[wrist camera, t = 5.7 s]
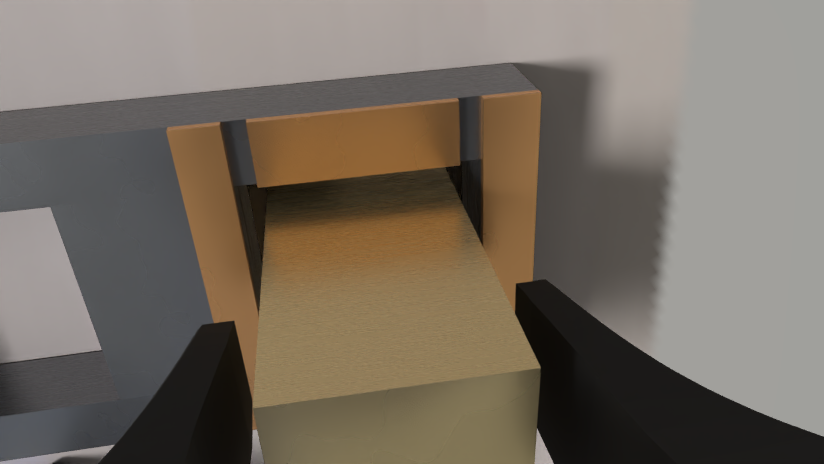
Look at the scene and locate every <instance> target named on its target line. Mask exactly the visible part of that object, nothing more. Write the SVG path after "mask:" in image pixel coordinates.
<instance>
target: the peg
mask: <svg viewBox="0 0 824 464" xmlns="http://www.w3.org/2000/svg"><path fill="white" fill-rule="evenodd" d="M540 374H541V367H540V365H539V363H538V361H537V359H536V356H535V354H534V352H533V350H532V348H531V346H530V344H529V342H528V340H527V338H526V336H525V334H524V331H523V329H522V327H521V325H520V323H519V321H518V319H517V317H516V315H515V313H514V311H513V309H512V306H511V304H510V302H509V300H508V298H507V296H506V294H505V292H504V290H503V288H502V286H501V283H500V281H499V279H498V277H497V275H496V273H495V271H494V269H493V267H492V265H491V263H490V261H489V258H488V256H487V254H486V252H485V250H484V248H483V246H482V244H481V242H480V240H479V238H478V236H477V233H476V231H475V229H474V227H473V225H472V223H471V221H470V219H469V217H468V215H467V213H466V211H465V208H464V206H463V204H462V202H461V200H460V198H459V196H458V194H457V192H456V190H455V188H454V186H453V183H452V181H451V179H450V177H449V175H448V173H447V171H446V169H445V167H441V168H432V169H423V170H414V171H405V172H396V173H387V174H378V175H369V176H360V177H351V178H342V179H333V180H324V181H315V182H306V183H297V184H288V185H279V186H270V187H268V193H267V207H266V222H265V236H264V251H263V265H262V279H261V294H260V308H259V323H258V337H257V352H256V366H255V380H254V395H253V413H254V417H255V422H256V426H257V431H258V436H259V440H260V445H261V449H262V454H263V458H264V463H265V464H534V462H535V447H536V433H537V418H538V403H539V389H540Z"/></svg>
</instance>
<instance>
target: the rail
mask: <svg viewBox="0 0 824 464" xmlns="http://www.w3.org/2000/svg"><path fill="white" fill-rule="evenodd" d="M540 114H541V92H540V91H539V90H538V89H537V88H536V87H535V86H534V85H533V84H532V83H531V82H530V81H529V80H528V79H527V78H526V77H525V76H524V75H523V74H522V73H521V72H520V71H519V70H518V69H517V68H516V67H515V66H514V65H513V64H512V63H507V64H496V65H486V66H476V67H465V68H455V69H444V70H434V71H423V72H413V73H403V74H392V75H382V76H371V77H361V78H351V79H340V80H330V81H319V82H309V83H298V84H288V85H278V86H267V87H257V88H246V89H236V90H225V91H215V92H205V93H194V94H184V95H173V96H163V97H152V98H142V99H132V100H121V101H111V102H100V103H90V104H80V105H69V106H59V107H48V108H38V109H27V110H17V111H7V112H0V212H7V211H17V210H26V209H35V208H44V207H51V210H52V213H53V216H54V218H55V221H56V224H57V227H58V229H59V232H60V235H61V238H62V240H63V243H64V246H65V249H66V252H67V254H68V257H69V260H70V263H71V265H72V268H73V271H74V274H75V276H76V279H77V282H78V285H79V288H80V290H81V293H82V296H83V299H84V301H85V304H86V307H87V310H88V312H89V315H90V318H91V321H92V324H93V326H94V329H95V332H96V335H97V337H98V340H99V343H100V346H101V348H102V351H99V352H91V353H84V354H76V355H69V356H61V357H54V358H46V359H39V360H31V361H24V362H16V363H9V364H1V365H0V461H6V460H13V459H20V458H27V457H33V456H40V455H47V454H54V453H60V452H67V451H74V450H81V449H87V448H94V447H101V446H108V445H114V444H116V443H117V442H118V441H119V440H120V438H121V437H122V436H123V435H124V433H125V432H126V431H127V430H128V428H129V427H130V426H131V425H132V423H133V422H134V421H135V420H136V418H137V417H138V416H139V414H140V413H141V412H142V411H143V409H144V408H145V407H146V405H147V404H148V403H149V401H150V400H151V399H152V397H153V396H154V394H155V393H156V392H157V390H158V389H159V387H160V386H161V385H162V383H163V382H164V380H165V379H166V377H167V376H168V375H169V373H170V372H171V370H172V369H173V367H174V366H175V364H176V363H177V361H178V360H179V358H180V357H181V355H182V353H183V352H184V350H185V349H186V347H187V346H188V344H189V342H190V341H191V339H192V338H193V336H194V335H195V333H196V331H197V330H198V329H199V328H200V326H201V325H204V324H211V323H219V322H226V321H235V326H236V330H237V335H238V339H239V343H240V348H241V352H242V356H243V361H244V365H245V369H246V374H247V378H248V383H249V387H250V391H251V396H252V416H253V427H252V430H255V429H257V426H256V422H255V417H254V413H253V395H254V380H255V366H256V352H257V337H258V323H259V308H260V294H261V279H262V260H261V255H260V250H259V244H258V239H257V234H256V229H255V224H254V219H253V213H252V208H251V203H250V198H249V193H248V187H247V185H251V184H257V186H258V188H261V187H270V186H279V185H288V184H297V183H306V182H315V181H324V180H333V179H342V178H351V177H360V176H369V175H378V174H387V173H396V172H405V171H414V170H423V169H432V168H441V167H450V166H459V165H460V161H462V204H463V206H464V208H465V211H466V213H467V215H468V217H469V219H470V221H471V223H472V225H473V227H474V229H475V231H476V233H477V236H478V238H479V240H480V242H481V244H482V246H483V248H484V250H485V252H486V254H487V256H488V258H489V261H490V263H491V265H492V267H493V269H494V271H495V273H496V275H497V277H498V279H499V281H500V283H501V286H502V288H503V290H504V292H505V294H506V296H507V298H508V300H509V302H510V304H511V306H512V309H513V311H514V313H515V292H516V283H523V282H530V281H533V265H534V243H535V222H536V200H537V178H538V157H539V135H540Z"/></svg>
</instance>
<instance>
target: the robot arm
mask: <svg viewBox="0 0 824 464" xmlns="http://www.w3.org/2000/svg"><path fill="white" fill-rule="evenodd" d="M515 315H516V317H517V319H518V321H519V323H520V325H521V327H522V329H523V331H524V334H525V336H526V338H527V340H528V342H529V344H530V346H531V348H532V350H533V352H534V354H535V356H536V359H537V361H538V363H539V365H540V367H541V374H540V389H539V403H538V418H537V429H538V431H539V433H540V435H541V437H542V439H543V441H544V444H545V446H546V448H547V450H548V452H549V454H550V456H551V458H552V460H553V463H554V464H824V437H823V436H820V435H817V434H814V433H811V432H809V431H806V430H803V429H801V428H798V427H795V426H792V425H790V424H787V423H784V422H782V421H779V420H776V419H774V418H772V417H769V416H767V415H764V414H762V413H759V412H757V411H754V410H752V409H750V408H748V407H746V406H743V405H741V404H739V403H737V402H734V401H732V400H730V399H728V398H725V397H723V396H721V395H719V394H717V393H715V392H713V391H711V390H709V389H707V388H705V387H703V386H701V385H699V384H698V383H696V382H694V381H692V380H690V379H688V378H686V377H685V376H683V375H681V374H679V373H677V372H675V371H674V370H672V369H670V368H669V367H667V366H665V365H663V364H662V363H660V362H658V361H657V360H655V359H654V358H652V357H651V356H649V355H648V354H646V353H644V352H643V351H641V350H640V349H638V348H637V347H635V346H634V345H632V344H631V343H629V342H628V341H626V340H625V339H623V338H622V337H620V336H619V335H618V334H616V333H615V332H613V331H612V330H611V329H609V328H608V327H606V326H605V325H604V324H602V323H601V322H600V321H598V320H597V319H596V318H594V317H593V316H592V315H590V314H589V313H588V312H586V311H585V310H584V309H583V308H581V307H580V306H579V305H577V304H576V303H575V302H574V301H572V300H571V299H570V298H569V297H567V296H566V295H565V294H563V293H562V292H561V291H560V290H558V289H557V288H556V287H555V286H553V285H552V284H551V283H549V282H548V281H547V280H538V281H530V282H523V283H516V292H515ZM252 427H253V416H252V396H251V391H250V387H249V383H248V378H247V374H246V369H245V365H244V361H243V356H242V352H241V348H240V343H239V339H238V335H237V330H236V326H235V321H226V322H219V323H211V324H204V325H201V326H200V328H199V329H198V330H197V331H196V333H195V335H194V336H193V338H192V339H191V341H190V342H189V344H188V346H187V347H186V349H185V350H184V352H183V353H182V355H181V357H180V358H179V360H178V361H177V363H176V364H175V366H174V367H173V369H172V370H171V372H170V373H169V375H168V376H167V377H166V379H165V380H164V382H163V383H162V385H161V386H160V387H159V389H158V390H157V392H156V393H155V394H154V396H153V397H152V399H151V400H150V401H149V403H148V404H147V405H146V407H145V408H144V409H143V411H142V412H141V413H140V414H139V416H138V417H137V418H136V420H135V421H134V422H133V423H132V425H131V426H130V427H129V428H128V430H127V431H126V432H125V433H124V435H123V436H122V437H121V438H120V440H119V441H118V442H117V443H116V444H115V445H114V447H113V448H112V449H111V450H110V451H109V452H108V453H107V455H106V456H105V457H104V458H103V459H102V460H101V461H100V462H99V463H98V464H250V462H251V454H252Z"/></svg>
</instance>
